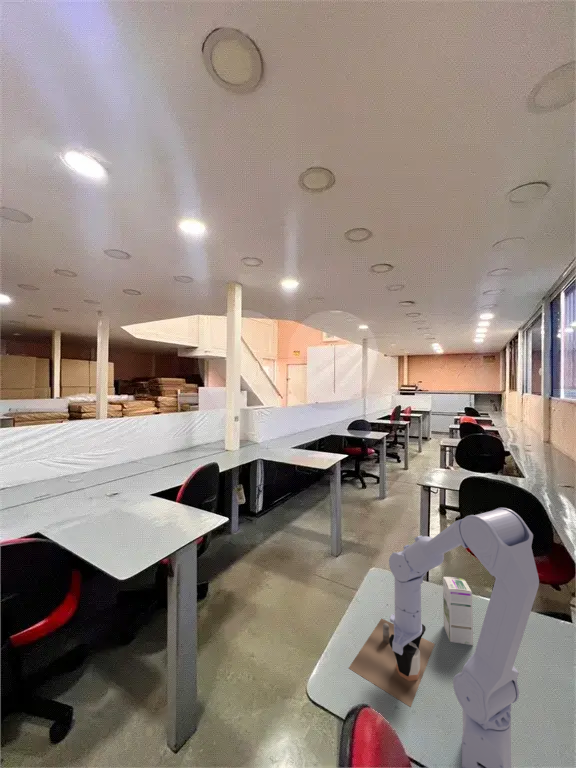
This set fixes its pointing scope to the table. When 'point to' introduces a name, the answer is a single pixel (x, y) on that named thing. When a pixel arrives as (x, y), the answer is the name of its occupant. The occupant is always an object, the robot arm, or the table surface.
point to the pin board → (388, 663)
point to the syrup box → (458, 610)
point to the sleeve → (412, 666)
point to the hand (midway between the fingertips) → (407, 664)
